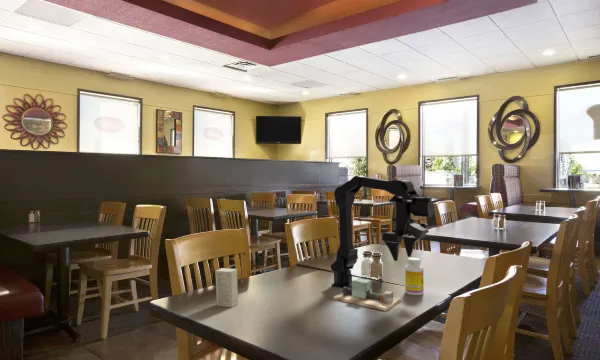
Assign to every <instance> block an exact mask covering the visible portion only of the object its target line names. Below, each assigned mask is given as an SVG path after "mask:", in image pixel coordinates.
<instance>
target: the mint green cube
mask: <svg viewBox="0 0 600 360" xmlns="http://www.w3.org/2000/svg"><path fill="white" fill-rule="evenodd" d="M366 292H371V293H373V280H372V279H367V278H360V277H359V278H356V279H353V280H352V296H354V297H358V298H363V299H365V298H366Z"/></svg>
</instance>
